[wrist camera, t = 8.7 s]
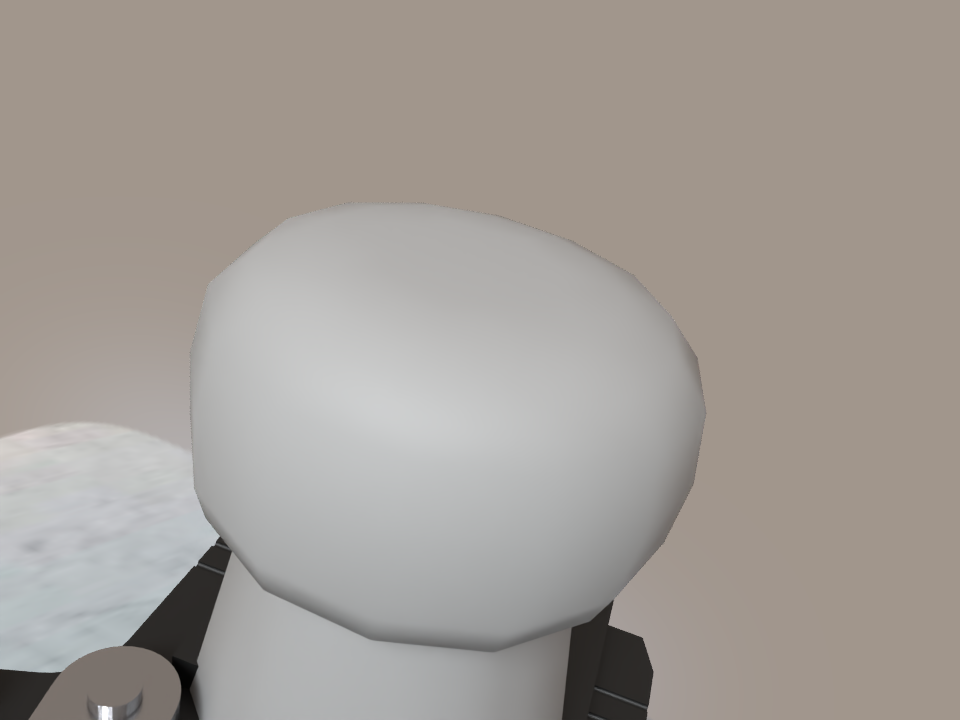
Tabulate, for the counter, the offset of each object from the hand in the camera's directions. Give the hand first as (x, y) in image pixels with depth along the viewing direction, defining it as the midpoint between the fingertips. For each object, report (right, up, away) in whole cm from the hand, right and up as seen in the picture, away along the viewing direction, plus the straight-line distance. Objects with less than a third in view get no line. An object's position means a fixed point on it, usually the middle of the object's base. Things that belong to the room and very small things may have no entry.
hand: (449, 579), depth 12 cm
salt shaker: (-2, -7, +1) cm, 8 cm away
